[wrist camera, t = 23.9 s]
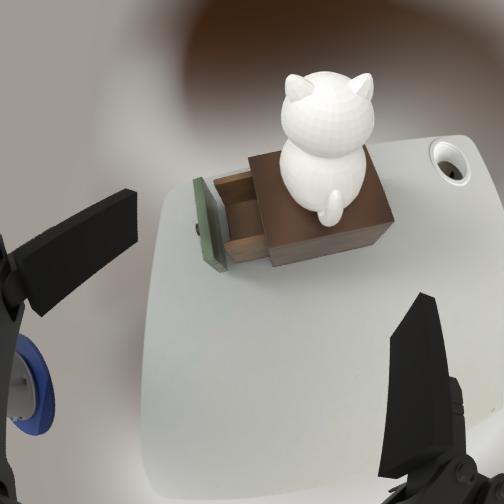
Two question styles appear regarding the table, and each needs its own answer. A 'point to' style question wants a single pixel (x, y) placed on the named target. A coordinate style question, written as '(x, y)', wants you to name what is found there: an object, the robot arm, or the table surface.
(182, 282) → the table surface
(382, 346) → the table surface
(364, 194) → the cabinet
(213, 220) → the drawer
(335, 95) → the cat figurine
